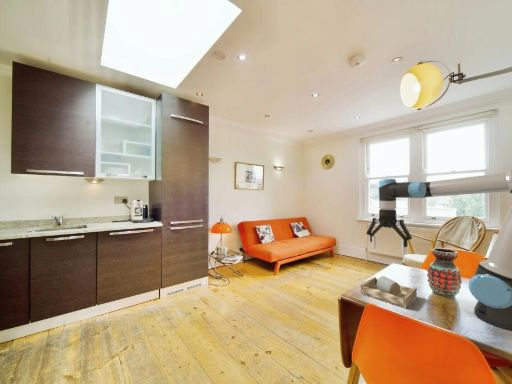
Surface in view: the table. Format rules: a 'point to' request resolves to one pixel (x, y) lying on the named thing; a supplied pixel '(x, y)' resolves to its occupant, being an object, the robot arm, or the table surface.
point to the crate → (400, 300)
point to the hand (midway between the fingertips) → (388, 250)
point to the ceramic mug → (388, 286)
